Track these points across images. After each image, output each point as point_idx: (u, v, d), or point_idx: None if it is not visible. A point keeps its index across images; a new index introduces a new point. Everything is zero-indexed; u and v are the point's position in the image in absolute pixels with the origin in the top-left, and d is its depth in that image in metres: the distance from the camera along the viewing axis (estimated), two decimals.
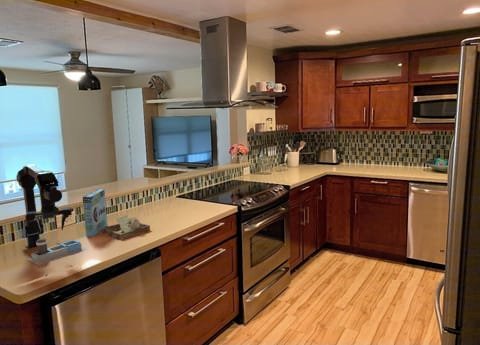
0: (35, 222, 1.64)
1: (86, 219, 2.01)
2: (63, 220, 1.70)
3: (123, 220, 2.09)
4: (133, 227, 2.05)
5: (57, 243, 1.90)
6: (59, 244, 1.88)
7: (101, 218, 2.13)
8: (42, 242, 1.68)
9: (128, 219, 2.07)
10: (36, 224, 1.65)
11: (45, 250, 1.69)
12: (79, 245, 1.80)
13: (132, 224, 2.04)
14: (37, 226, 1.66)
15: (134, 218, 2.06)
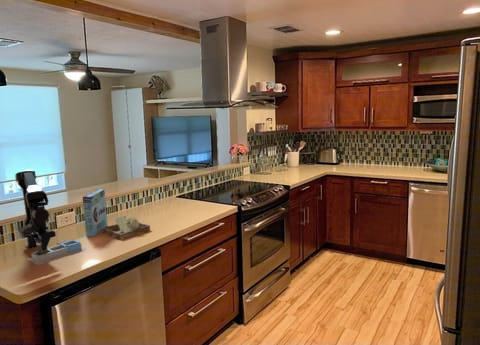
0: (33, 237, 1.70)
1: (86, 219, 2.01)
2: (40, 241, 1.66)
3: (122, 220, 2.08)
4: (132, 227, 2.04)
5: (57, 243, 1.90)
6: (59, 244, 1.88)
7: (101, 218, 2.13)
8: None
9: (127, 219, 2.07)
10: (35, 239, 1.70)
11: (45, 250, 1.69)
12: (79, 245, 1.80)
13: (131, 224, 2.03)
14: None
15: (133, 218, 2.05)
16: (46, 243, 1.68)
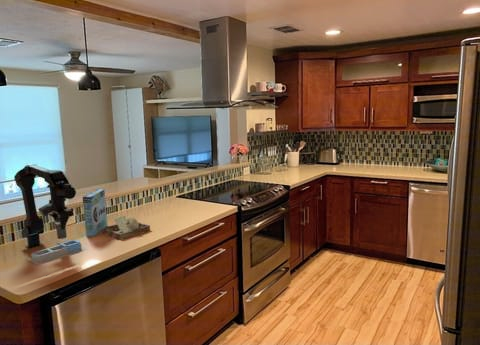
0: (52, 216, 1.76)
1: (86, 219, 2.01)
2: (59, 220, 1.72)
3: (121, 221, 2.08)
4: (132, 227, 2.04)
5: (57, 243, 1.90)
6: (59, 244, 1.88)
7: (101, 218, 2.13)
8: None
9: (126, 220, 2.06)
10: (54, 218, 1.76)
11: (64, 229, 1.75)
12: (79, 245, 1.80)
13: (131, 224, 2.03)
14: None
15: (133, 218, 2.05)
16: (65, 222, 1.74)
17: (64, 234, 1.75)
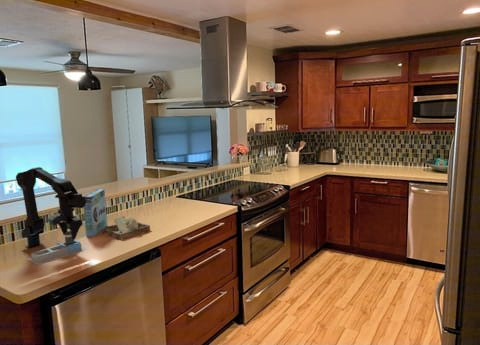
0: None
1: (86, 219, 2.01)
2: (70, 230, 1.74)
3: (121, 221, 2.07)
4: (131, 228, 2.03)
5: (57, 243, 1.90)
6: (59, 244, 1.88)
7: (101, 218, 2.13)
8: (70, 234, 1.78)
9: (126, 220, 2.06)
10: (60, 227, 1.81)
11: (72, 242, 1.79)
12: (79, 245, 1.80)
13: (130, 225, 2.03)
14: (61, 229, 1.81)
15: (132, 219, 2.05)
16: (76, 232, 1.76)
17: None
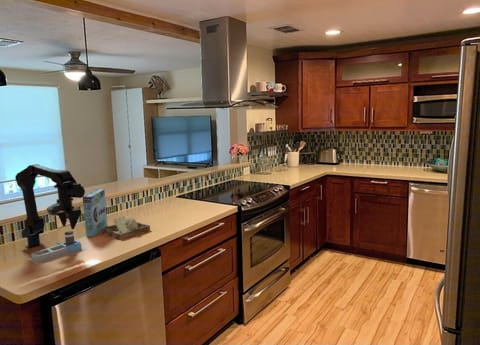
0: (57, 215, 1.80)
1: (86, 219, 2.01)
2: (69, 220, 1.73)
3: (120, 221, 2.07)
4: (131, 228, 2.03)
5: (57, 243, 1.90)
6: (59, 244, 1.88)
7: (101, 218, 2.13)
8: (70, 234, 1.78)
9: (125, 220, 2.06)
10: (59, 217, 1.80)
11: (72, 242, 1.79)
12: (79, 245, 1.80)
13: (130, 225, 2.03)
14: (60, 219, 1.80)
15: (132, 219, 2.04)
16: (75, 222, 1.75)
17: None
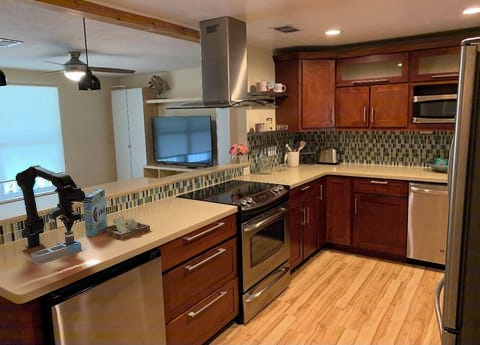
0: (62, 220, 1.77)
1: (86, 219, 2.01)
2: (65, 223, 1.76)
3: (120, 221, 2.07)
4: (130, 228, 2.03)
5: (57, 243, 1.90)
6: (59, 244, 1.88)
7: (101, 218, 2.13)
8: (70, 234, 1.78)
9: (125, 220, 2.06)
10: (63, 222, 1.78)
11: (72, 242, 1.79)
12: (79, 245, 1.80)
13: (129, 225, 2.02)
14: (64, 224, 1.78)
15: (131, 219, 2.04)
16: (71, 225, 1.78)
17: None
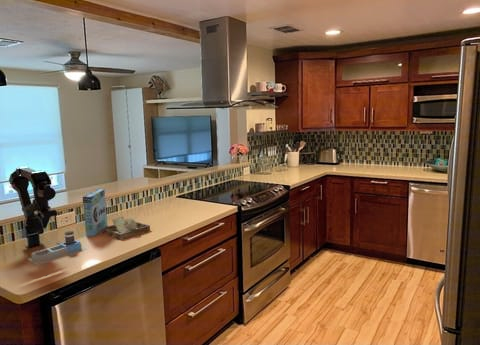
0: (37, 217, 1.76)
1: (86, 219, 2.01)
2: (41, 219, 1.75)
3: (119, 221, 2.07)
4: (130, 228, 2.03)
5: (57, 243, 1.90)
6: (59, 244, 1.88)
7: (101, 218, 2.13)
8: (70, 234, 1.78)
9: (124, 220, 2.05)
10: (39, 219, 1.77)
11: (72, 242, 1.79)
12: (79, 245, 1.80)
13: (129, 225, 2.02)
14: (40, 221, 1.77)
15: (131, 219, 2.04)
16: (46, 221, 1.77)
17: None
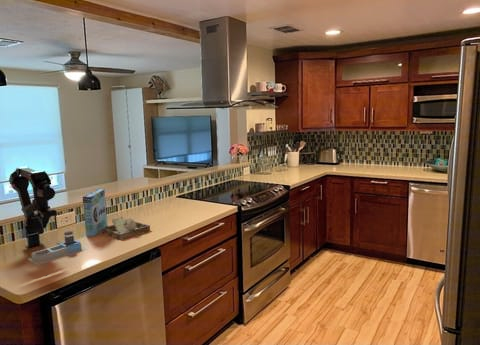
0: (37, 217, 1.76)
1: (86, 219, 2.01)
2: (41, 219, 1.75)
3: (119, 221, 2.06)
4: (129, 228, 2.02)
5: (57, 243, 1.90)
6: (59, 244, 1.88)
7: (101, 218, 2.13)
8: (69, 234, 1.78)
9: (124, 220, 2.05)
10: (39, 219, 1.77)
11: (72, 242, 1.79)
12: (79, 245, 1.80)
13: (128, 225, 2.02)
14: (40, 221, 1.77)
15: (130, 219, 2.04)
16: (46, 221, 1.77)
17: None
